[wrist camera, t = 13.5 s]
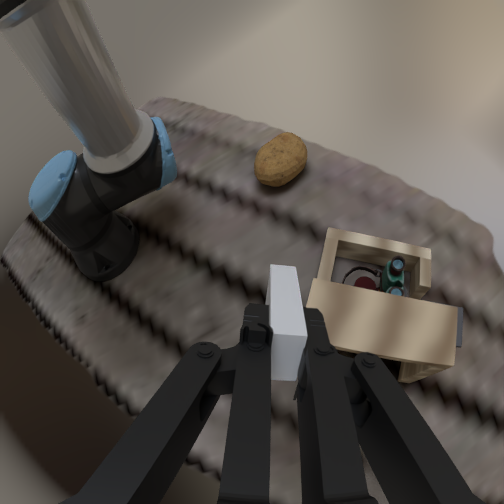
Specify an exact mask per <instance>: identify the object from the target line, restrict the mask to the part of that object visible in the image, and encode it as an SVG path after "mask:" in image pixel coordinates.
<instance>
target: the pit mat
mask: <svg viewBox="0 0 504 504" xmlns="http://www.w3.org/2000/svg"><path fill="white" fill-rule="evenodd" d="M425 301H426V300H425ZM428 302H431V301H428ZM433 303H436V302H433ZM438 304H441V303H438ZM444 305H446V304H444ZM449 306H451V305H449ZM454 307H456V306H454ZM462 327H463V308H461V307H458V314H457V336H456V347H461V345H462Z"/></svg>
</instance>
